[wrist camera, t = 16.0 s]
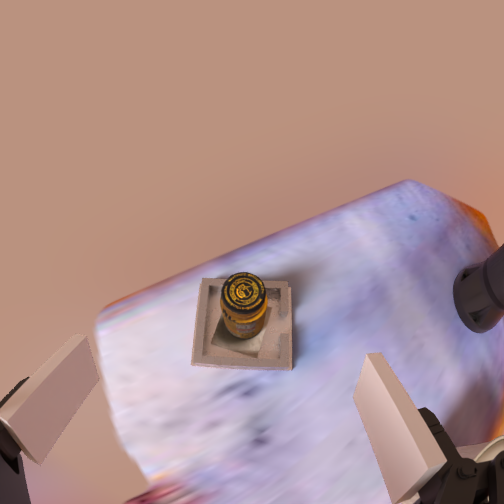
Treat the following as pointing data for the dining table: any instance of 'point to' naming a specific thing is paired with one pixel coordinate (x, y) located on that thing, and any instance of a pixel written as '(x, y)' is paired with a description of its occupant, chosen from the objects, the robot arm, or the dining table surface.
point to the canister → (475, 455)
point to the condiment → (242, 314)
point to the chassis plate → (274, 341)
